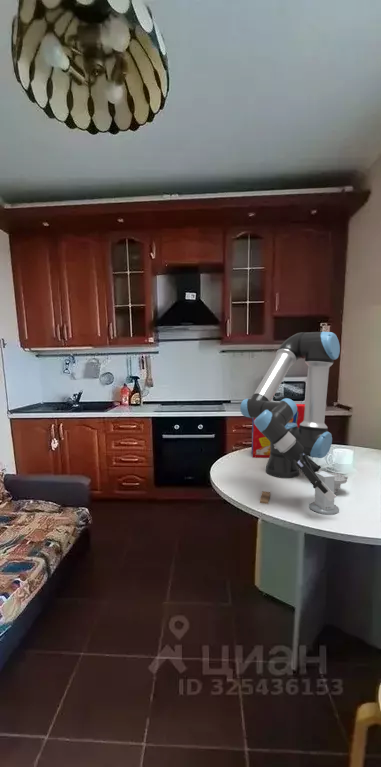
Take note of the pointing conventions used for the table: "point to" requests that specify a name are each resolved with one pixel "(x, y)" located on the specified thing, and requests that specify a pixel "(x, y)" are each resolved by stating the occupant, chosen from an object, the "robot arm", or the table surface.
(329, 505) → the skincare box
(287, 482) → the table surface
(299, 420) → the pasta box
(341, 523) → the table surface
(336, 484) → the showerhead
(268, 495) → the walnut board
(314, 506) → the coaster
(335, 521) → the table surface
